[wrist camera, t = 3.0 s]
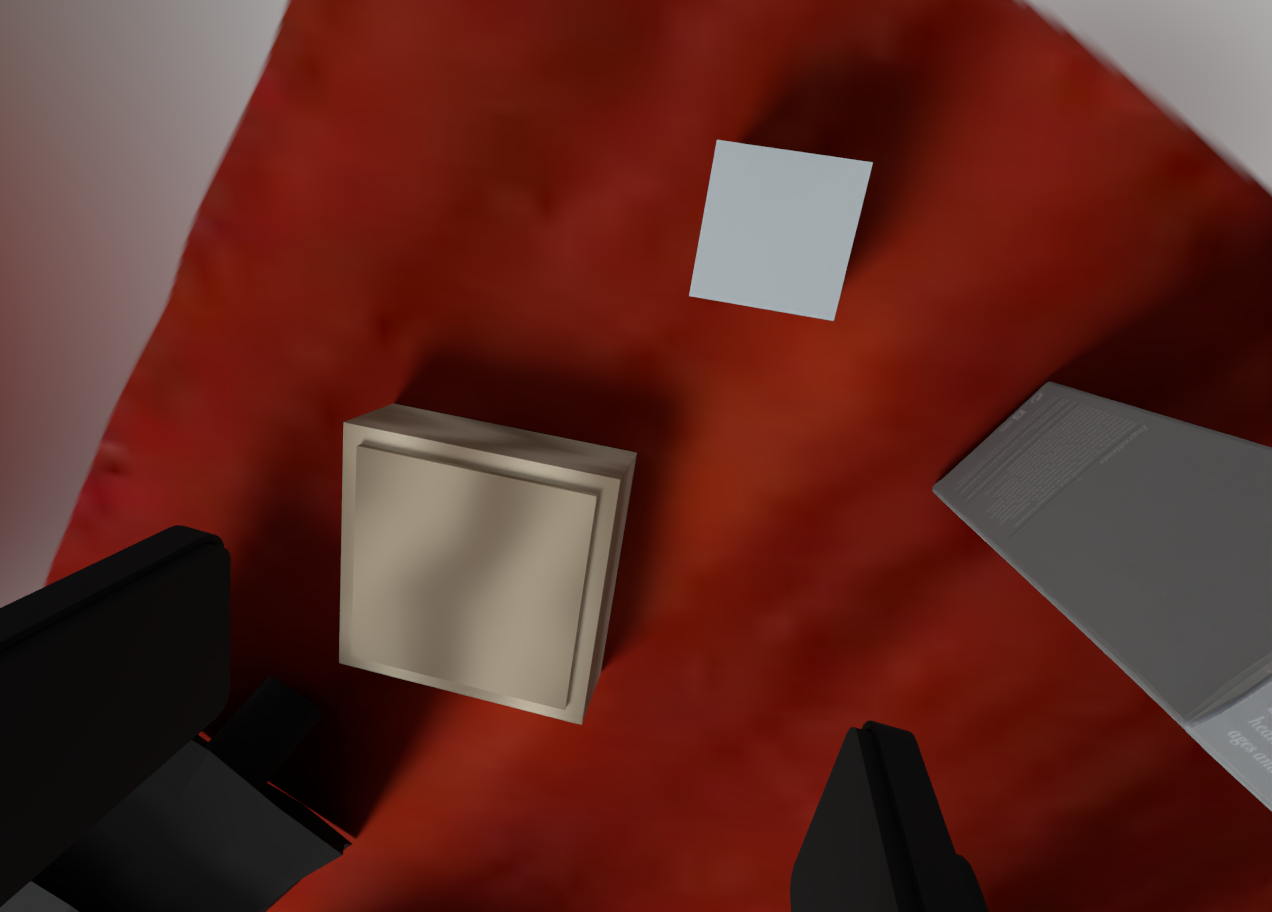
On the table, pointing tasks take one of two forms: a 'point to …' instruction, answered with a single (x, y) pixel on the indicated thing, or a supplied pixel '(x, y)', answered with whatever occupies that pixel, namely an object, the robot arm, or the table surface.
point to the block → (778, 228)
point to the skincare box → (1143, 553)
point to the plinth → (480, 557)
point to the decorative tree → (200, 827)
